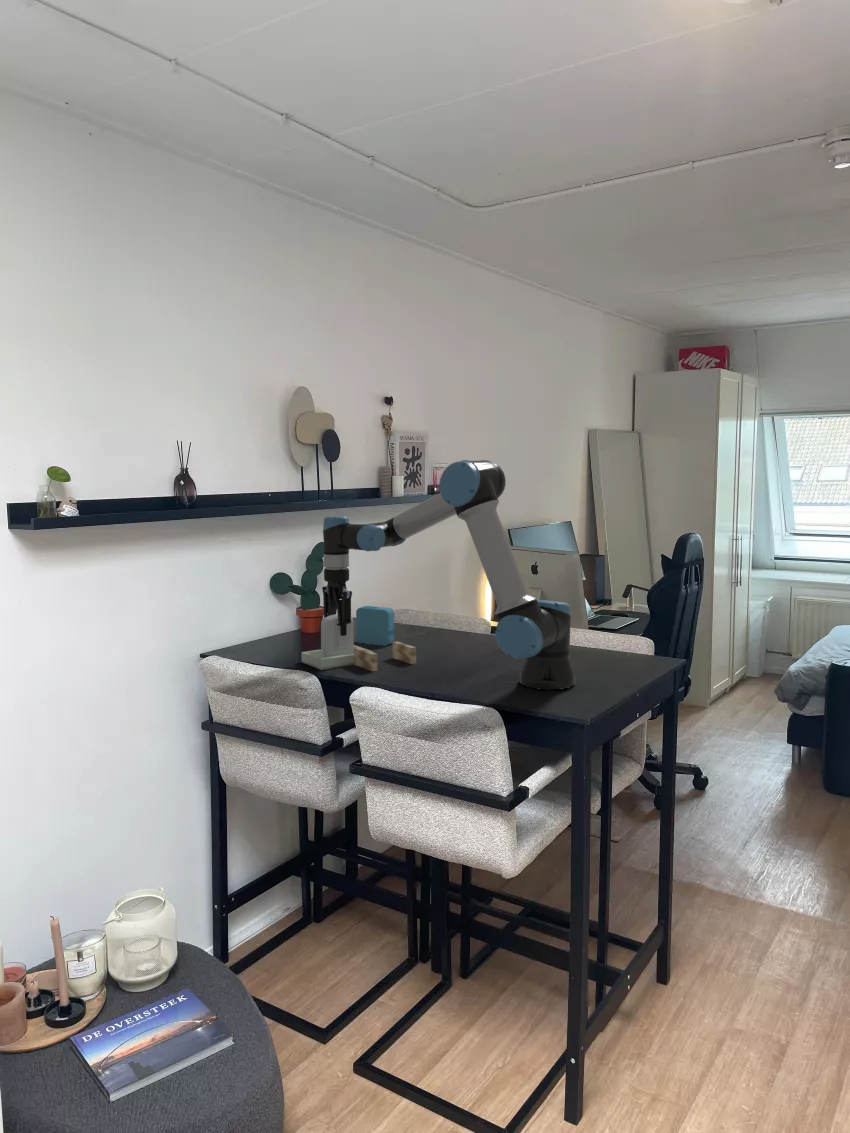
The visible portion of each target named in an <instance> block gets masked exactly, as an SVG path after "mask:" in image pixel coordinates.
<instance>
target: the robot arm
mask: <svg viewBox="0 0 850 1133" xmlns="http://www.w3.org/2000/svg"><path fill="white" fill-rule="evenodd" d="M506 481H507V480H506V475H505V473H504V471H503V469H502V468H501V467H500V466H499V465H498V464H496V462H494V461H491V460H484V459H483V460H468V459H465V460H464V459H462V460H460V461H455V462H452V463H451V464H448V466H447V467H446V468H445V469H444V470H443V471H442V474H441V477H440V480H439V492H440V493H437V494H436V495H433V496H432V497H430V498H427V499H426V500H424V501H422V502H420V503H418V504H416V505H414V506H413V507H410V508H409V509H407V510H404V511H403V512H401V513H399V514H396V515H395V516H393V517H391V518H390V519H388V520H387V519H386V520H385V521H381V522H372V523H366V524H359V523H350V521H349V516H344V515H328V516H326V517H324V518H323V524H322V526H323V527H322V528H323V529H322V535H323V538H322V539H323V567H324V569H323V580H324V581H325V582H327V584H326V585H325V586H322V587H321V588H322V594H323V601H322V602H323V618H325V617H328V616H330V615H335V614H338V621H339V624H337V646H338V647H341V646H346V634H347V631H346V630H347V627H346V626H347V624H349V623H351V616H352V596H353V591H352V590H348V588H347V584H346V582H348V581H350V568H349V566H350V550H355V551H357V550H358V551H365V552H378V551H380V550H381V548H387V547H396V546H400V545H402V544H403V543H404V542H405V541H407V539H408V538H410V537H412V536H414V535H417V534H418V533H421V532H423V531H425V530H427V529H429V528H431V527H433V526H435V525H437V524H439V523H442V522H443V521H445V520H448V519H449V518H451V517H453V516H455V515H456V516H457V518H458V519H460V520H462V521H464V522H465V524H466V526H467V528H468V531H469V534H470V537H471V539H472V542H473V544H474V547H475V549H476V550H475V551H476V552H477V555H478V557H479V559H480V563H481V565H482V568H483V571H484V573H485V575H486V579H487V581H488V584H489V587H490V590H491V592H492V594H493V597H494V599H495V602H496V605H497V608H496V610H495V612H494V616H495V619H496V621H497V625H496V629H495V631H494V632H495V633H494V636H495V640H496V644H497V645H498V647H499V649H500V650H501V651H502V652H503V653H504V654H505V655H507V656H509V657H511V658H513V659H517V660H518V659H519V660H520V659H521V660H522V659H524V662H523V665H522V670H521V671H520V673H519V683H520V684H521V685H522V686H523V685H524V687H526V686H527V687H526V688H529V687H531V688H530V689H533V688H540V689H560V688H567V687H571V686H573V685H574V684H575V685H576V675H575V673H574V671H573V669H574V668H573V666H572V661H571V657H570V649H571V648H570V647H571V646H570V644H571V619H572V614H571V606H570V604H569V603H567V602H564V601H556V600H548V599H547V600H546V599H537V597H535V596H533V595H530V594H529V592H528V589H527V587H526V585H525V582H524V579H523V577H522V574H521V571H520V568H519V566H518V564H517V561H516V559H515V555H514V552H513V551H512V548H511V545H510V542H509V540H508V536H507V535H506V532H505V530H504V527H503V525H502V522H501V519H500V517H499V515H498V511H497V508H498V505H499V503H500V500H499V498H500V497H501V496H502V494H503V492H504V491H505V488H506V483H507V482H506ZM573 687H574V686H573ZM571 688H572V687H571Z"/></svg>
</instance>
